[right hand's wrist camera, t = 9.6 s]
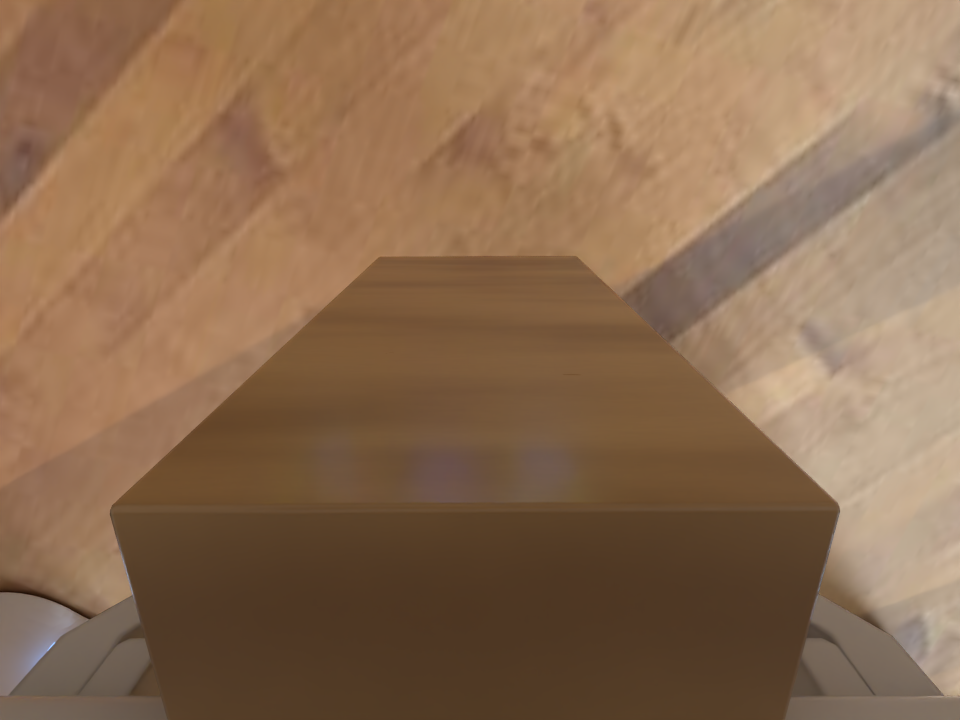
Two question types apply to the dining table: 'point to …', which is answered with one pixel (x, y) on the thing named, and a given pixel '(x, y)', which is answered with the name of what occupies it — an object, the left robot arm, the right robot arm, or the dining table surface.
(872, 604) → the dining table surface
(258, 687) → the box
